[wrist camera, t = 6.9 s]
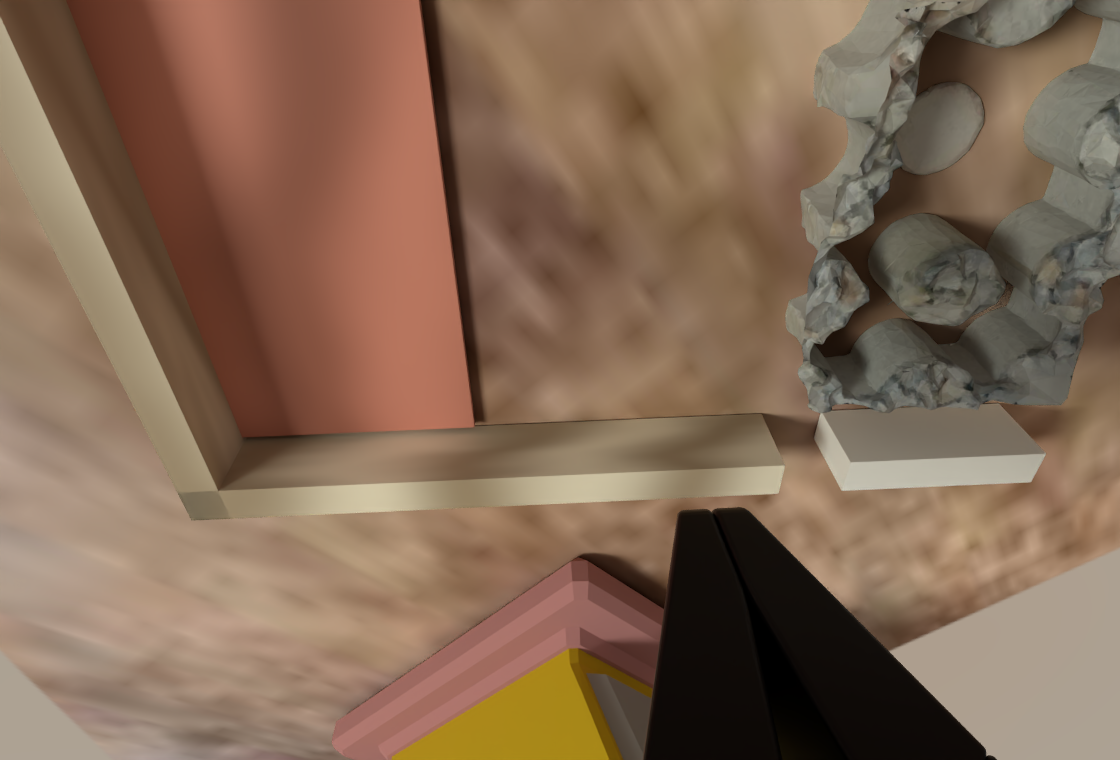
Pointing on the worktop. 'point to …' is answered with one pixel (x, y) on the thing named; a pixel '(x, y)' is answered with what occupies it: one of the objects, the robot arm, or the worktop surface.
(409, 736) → the retro mantel clock
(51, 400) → the worktop surface
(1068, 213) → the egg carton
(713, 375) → the worktop surface
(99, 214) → the channel
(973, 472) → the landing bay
